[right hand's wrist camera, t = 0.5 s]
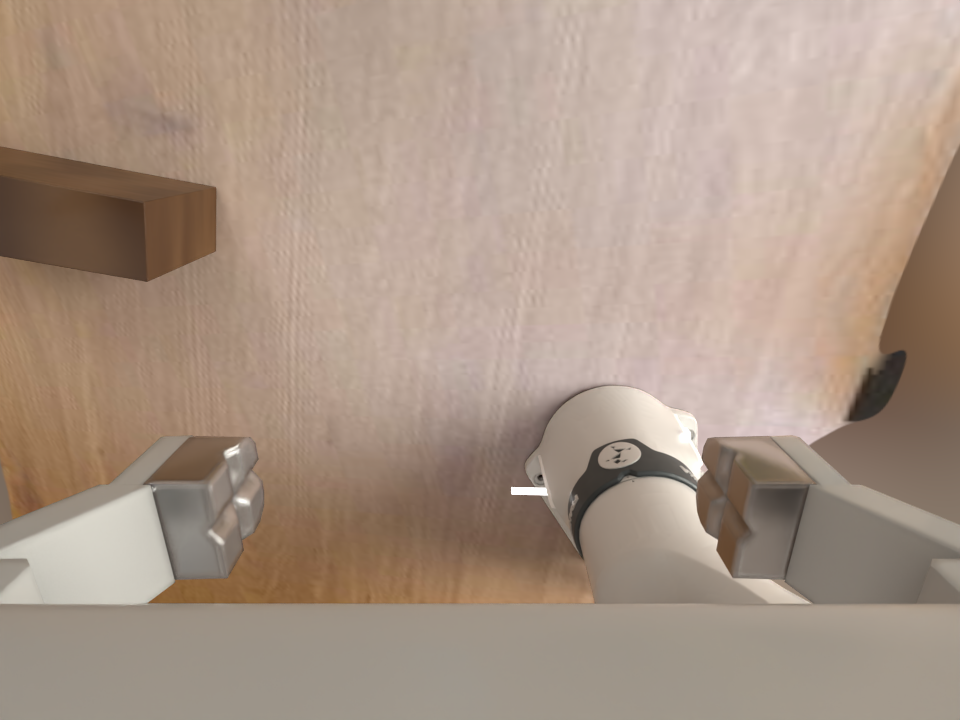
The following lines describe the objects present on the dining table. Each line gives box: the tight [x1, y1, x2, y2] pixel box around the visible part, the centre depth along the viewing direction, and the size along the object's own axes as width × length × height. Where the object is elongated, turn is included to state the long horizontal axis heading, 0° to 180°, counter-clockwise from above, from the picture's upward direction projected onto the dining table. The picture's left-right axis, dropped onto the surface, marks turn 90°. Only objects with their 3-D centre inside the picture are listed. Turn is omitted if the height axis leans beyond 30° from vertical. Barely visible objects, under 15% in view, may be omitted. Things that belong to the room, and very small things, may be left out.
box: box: [0, 147, 216, 282], centre depth 45 cm, size 20×6×12 cm, turn 79°
